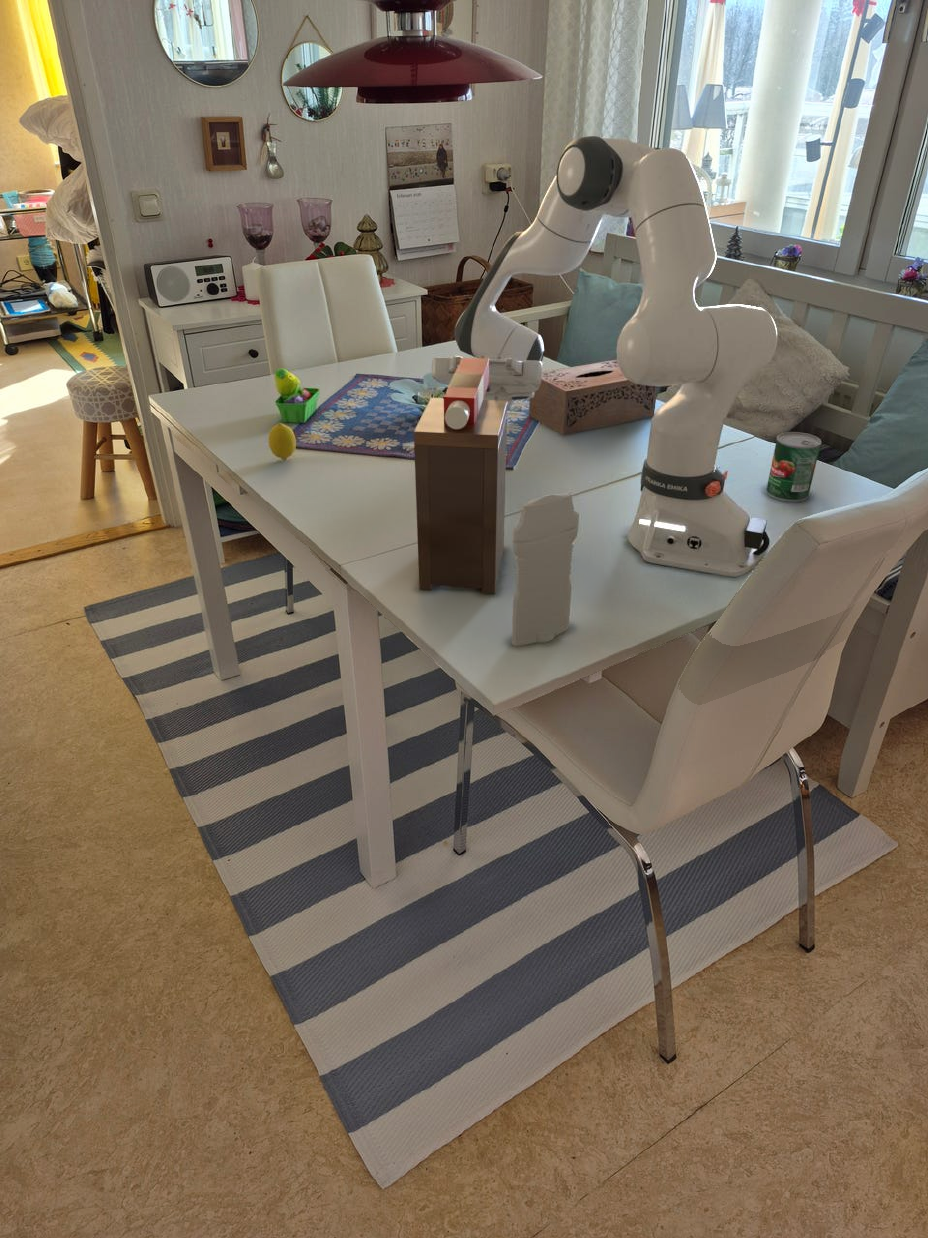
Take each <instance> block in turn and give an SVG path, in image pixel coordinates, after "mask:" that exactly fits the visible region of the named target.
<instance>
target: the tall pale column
mask: <svg viewBox="0 0 928 1238" xmlns="http://www.w3.org/2000/svg"><path fill="white" fill-rule="evenodd" d="M579 520H580V512H578V511H577V510H576V509H575V506H574V501H573V494H572V492H561V493H553V494H551V493H550V494H546V495H544V496H543V495H542V496H541V497H539V498H535V499H533V500H530V501H527V502H526V503H523V506H522V511H521V515H520V517H519V522H518V523H517V524H516V526H515V527H513V530H512V531H513V532H512V533H513V534H512V551H513V554H515V556H516V557H515V569H516V570H515V580H516V581H515V594H514V597H513V601H512V624H511V625H512V630H511V645H512V646H514V647H515V646H516V647H523V646H526V645H527V646H528V645H531V644H532V645H533V644H535V643H548V642H550V641H553V640H554V639H555V637H556V636H558V635H560V634H563V633H564V632H566V631H568V629H569V628H570V614H571V604H572V603H571V602H572V589H573V588H572V587H573V586H572V580H571V574H572V562H573V552H574V547H575V544H574V542H575V540H576V539H577V537H578V534H579V533H578V531H579V522H580V521H579Z"/></svg>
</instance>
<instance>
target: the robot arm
mask: <svg viewBox="0 0 928 1238" xmlns="http://www.w3.org/2000/svg"><path fill="white" fill-rule="evenodd" d="M606 215H608V216H611V217H615V218H631V221H632V226H633V232H634V237H635V242H636V247H637V251H638V256H639V262H640V263H639V264H640V268H641V275H642V290H641V297H640V301H639V303H638V307H637V308H636V311H635V312H634V314H633V315H632V316H631V318H630V319H629V320H628V321H627V322H626V323H625V325H624V326H623V327H622V329H621V331H620V333H619V335H618V339H617V343H616V359H617V360H618V364H619V367H620V369H621V371H622V373H623V374H624V376H625V377H626V378H627V379H628V380H629V381H630V382H632V383H635V384H642V385H650V386H658V387H669V386H677V385H681V386H680V388H679V389H678V390H677V391H676V393H675V394H674V395H673V397H671V398H670V399H668V401H666V402H665V403H664V404H662V405H661V406H659V408H657V410H656V411H655V412H654V416H653V417H651V421H650V429H649V437H648V444H647V445H648V446H647V453H646V455H647V456H646V458H645V459H644V461H643V466H642V469H641V475H640V492H641V494H640V497H639V503H638V506H637V509H636V513H635V516H634V520H633V522H632V525H631V527H630V529H629V531H628V533H627V540H628V542H629V544H630V545H631V546H632V547H633V548H634V549H635V550H637V551H638V552H639V553H640V555H641V558H642V559H643V560H644V561H645V562H647V563H650V564H656V565H661V566H667V567H673V568H680V569H685V570H689V571H695V572H702V573H706V574H707V573H708V574H713V575H719V576H725V577H731V578H735V577H736V578H737V577H740V576H743V575H744V574H747V573H749V572H751V571H752V570H754V568H755V567H756V566H757V565H758V564H759V562H760V561H761V558H762V557H763V553H765V552H766V551H767V550H768V548H769V547H770V543H771V540H770V537H769V535H768V533H767V531H766V529H767V524H768V519H763V518H756V517H750V515H749V514H748V512H746V511H745V509H743V508H742V506H740V504H738V503H737V502H736V501H735V500H734V499H733V498H732V497H731V496H730V495H729V494H728V493H727V492H726V491H725V490H724V487H725V482H726V480H727V477H728V472H729V471H728V470H725V471H724V472H723V473H722V472H721V471H720V469H719V468H718V466H717V465H716V461H717V456H718V451H719V445H720V441H721V437H722V433H723V428H724V424H725V421H726V419H727V417H728V414H729V413H730V410H731V408H732V406H733V404H734V403H735V401H736V399H737V398H738V396H739V395H740V393H741V392H742V390H743V389H744V388H745V386H747V384H748V383H749V382H750V381H751V380H752V378H753V377H755V376H756V375H757V374H758V373H760V371H762V370H763V369H764V368H766V367H767V366H768V365H769V364H770V362H771V360H772V358H773V357H774V354H775V352H776V349H777V345H778V330H777V329H778V328H777V326H776V322H775V321H774V319H773V317H772V315H771V314H770V312H768V311H767V310H766V309H764V308H762V307H758V306H757V307H756V306H753V305H752V306H751V305H745V304H738V303H737V304H736V303H734V304H733V303H732V304H721V305H711V306H698V304H697V303H696V299H695V289H696V288H697V287H698V286H700V285H701V284H702V283H703V282H704V281H706V280H707V278H709V276H710V275H711V274H712V272H713V270H714V268H715V265H716V261H717V251H716V245H715V241H714V236H713V232H712V227H711V224H710V219H709V218H710V217H709V214H708V210H707V205H706V202H705V198H704V194H703V190H702V188H701V185H700V182H699V179H698V177H697V175H696V172H695V169H694V167H693V165H692V163H691V161H690V159H689V157H688V156H687V155H686V153H684V152H683V151H682V150H680V149H678V148H673V147H662V148H661V147H651V146H649V145H646V144H643V143H638V142H634V141H632V140H629V139H623V138H611V137H600V136H598V135H589V136H588V135H587V136H583V137H582V136H581V137H578V138H575V139H572V140H571V142H569V143H568V144H567V146H566V147H565V148H564V150H563V151H562V153H561V155H560V158H559V160H558V163H557V167H556V175H555V176H554V178H553V180H552V181H551V184H550V186H549V187H548V190H547V191H546V193H545V196H544V198H543V200H542V202H541V204H540V207H539V209H538V212H537V214H536V217H535V218H534V221H533V222H532V223H531V224H530V226H529V227H528V228H527V229H526V230H525V231H517V232H515V233H514V234H512V235H511V236H510V238H508V239H507V241H506V242H505V243H504V245H503V246H502V248H501V249H500V251H499V253H498V254H497V256H496V257H495V259H494V260H493V262H492V264H491V266H490V267H489V269H488V271H487V272H486V275H485V276H484V278H483V279H482V281H481V283H480V285H479V286H478V289H477V290H476V292H475V293H474V296H473V298H471V301H470V302H469V303H468V305H467V307H466V308H465V309H464V311H463V312H462V313H461V315H460V316H459V317H458V319H457V322H456V323H455V327H454V330H453V336H454V339H455V342H456V345H457V347H458V349H459V351H460V352H462V353H464V354H467V355H469V356H471V357H472V358H488V359H489V384H488V387H487V390H486V392H485V395H484V398H483V400H497V401H507V411H509V410H510V408H511V407H512V406H513V404H514V402H515V401H517V400H518V401H519V400H526V399H529V400H530V398H533V397H534V393H535V391H537V390H538V389H539V387H540V384H541V376H542V372H543V360H544V356H545V346H544V341H543V340H544V339H543V338H542V336H541V334H539V333H537V332H536V331H534V330H532V329H530V328H529V327H527V326H525V325H523V324H521V323H519V322H517V321H515V320H514V319H511V318H509V317H508V316H506V315H504V314H503V313H501V312H499V310H497V308H496V303H497V301H498V299H499V298H500V297H501V295H502V293H503V291H504V290H505V288H506V287H507V284H508V282H509V281H510V280H511V277H512V276H513V275H518V274H531V275H532V274H533V275H539V276H548V277H549V276H560V275H564V274H568V273H569V272H572V271H574V270H575V269H577V268H578V267H579V266H580V265H582V263H583V261H584V260H585V258H586V256H587V255H588V253H589V251H590V250H591V247H592V245H593V242H594V240H595V238H596V235H597V233H598V231H599V228H600V226H601V223H602V221H603V219H604V218H605V216H606ZM462 358H463V357H462V355H453V356H452V357H451V356H436V357H434V358H432V360H431V378H433V380H434V381H436V382H437V383H439V384H441V385H445V386H449V384H450V382H451V380H452V378H453V376H454V373H455V372H456V370H457V368H458V365H459V363H460V361H461V359H462Z"/></svg>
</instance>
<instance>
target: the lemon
mask: <svg viewBox="0 0 928 1238" xmlns="http://www.w3.org/2000/svg"><path fill="white" fill-rule="evenodd" d="M268 446H269V449H270V452H271V453H272V454H273V455H274V457H277V458H279V459H281V460H283V461H286V460H287V459H288V458H290V457H291V456H292V455H293V454H294V453H295V451H296V449H297V448H296V447H297V440H296V436H295V433H294V431H293V429H292V428H291V427H289V426H288V425H287V424H283V423H282V422H279V423H278V424H276V425H274V426H273V427H272V428H271V429H270V431H269V434H268Z"/></svg>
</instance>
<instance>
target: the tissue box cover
mask: <svg viewBox="0 0 928 1238" xmlns="http://www.w3.org/2000/svg"><path fill="white" fill-rule="evenodd" d="M658 387H659V386H650V385H642V384H635V383H632V382H630V381H629V380H628V379H627V378H626V377H625V376H624V374H623V373H622V371H621V369H620V367H619V364H618V360H617V358H616V359H611V360H605V361H600V362H594V363H588V364H582V365H576V366H569V367H564V368H557V369H551V370H546V371H542V376H541V384H540V387H539V389H538V390H537V391H535V393H534V397H533V398H530V399H529V401H528V403H529V405H528V417H530V418H531V419H534V420H535V421H537V422H539V423H540V424H542V425H544V426H546V427H548V428H550V429H551V430H553V431H555V432H557V433H558V434H560V435H562V436H566V435H571V434H575V433H576V434H577V433H581V432H585V431H586V432H587V431H590V430H596V429H600V428H605V427H609V426H610V427H611V426H614V425H619V424H625V423H629V422H634V421H639V420H643V419H649V418H653V416H654V414H655V413H656V411H655V410H656V403H657V395H658Z"/></svg>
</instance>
